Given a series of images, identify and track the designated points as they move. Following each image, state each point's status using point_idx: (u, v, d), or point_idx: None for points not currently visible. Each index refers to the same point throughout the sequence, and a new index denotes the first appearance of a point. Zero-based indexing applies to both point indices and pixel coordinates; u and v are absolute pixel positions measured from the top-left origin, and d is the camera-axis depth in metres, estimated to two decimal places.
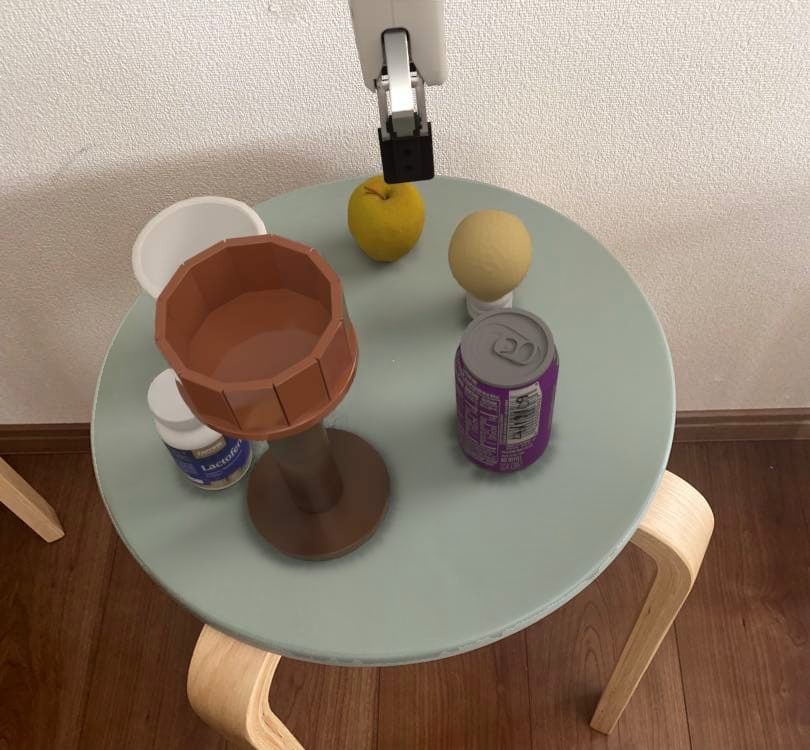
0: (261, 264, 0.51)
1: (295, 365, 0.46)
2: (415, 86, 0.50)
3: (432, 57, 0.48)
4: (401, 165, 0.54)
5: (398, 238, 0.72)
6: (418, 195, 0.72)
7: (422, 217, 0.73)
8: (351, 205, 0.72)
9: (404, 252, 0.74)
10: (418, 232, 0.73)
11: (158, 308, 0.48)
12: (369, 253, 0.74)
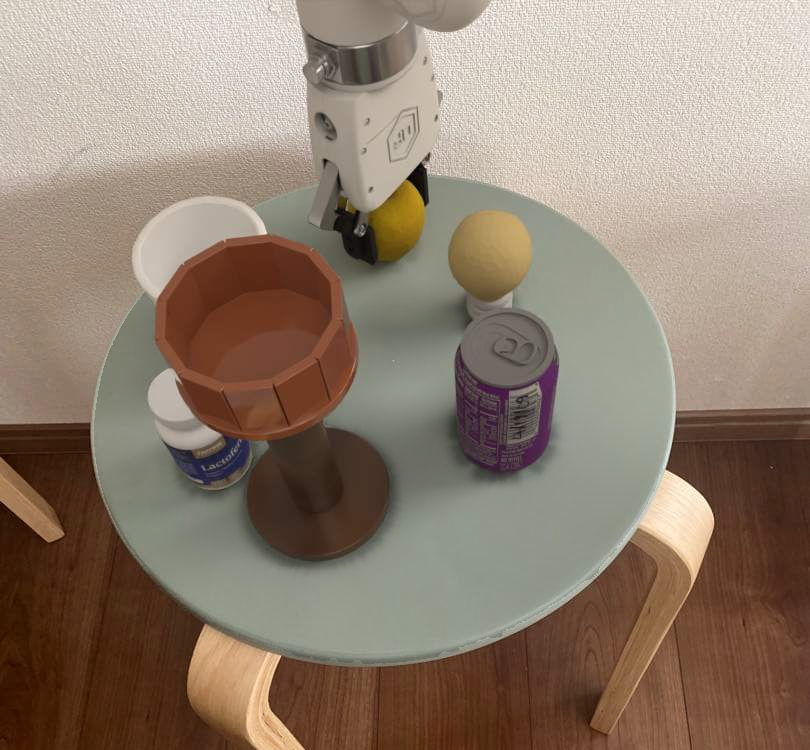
0: (261, 264, 0.51)
1: (295, 365, 0.46)
2: None
3: (354, 192, 0.64)
4: (346, 244, 0.72)
5: (397, 238, 0.72)
6: (418, 195, 0.72)
7: (422, 217, 0.73)
8: (351, 205, 0.72)
9: (404, 252, 0.74)
10: (418, 232, 0.73)
11: (158, 308, 0.48)
12: None
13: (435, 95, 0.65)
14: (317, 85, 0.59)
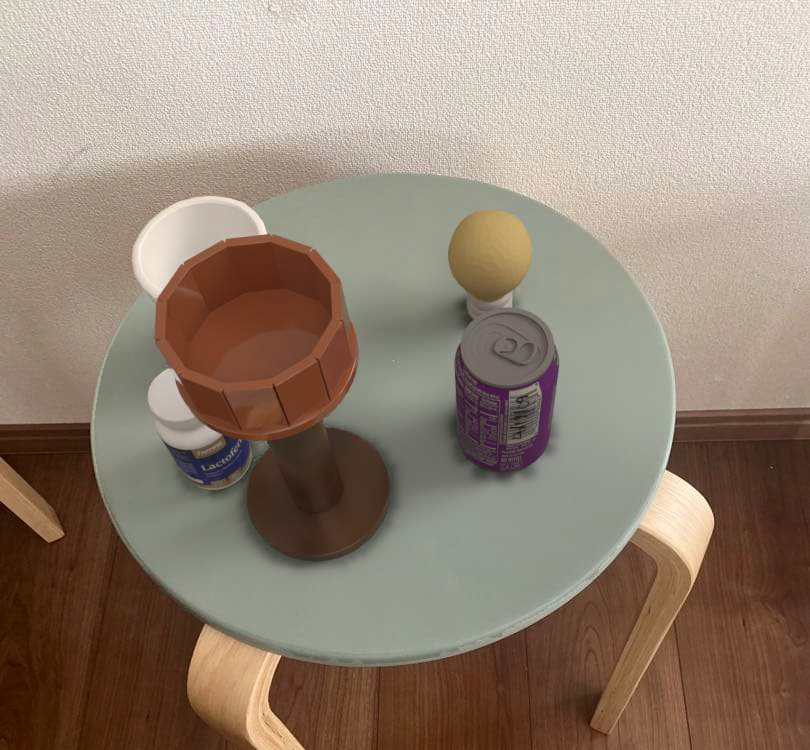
0: (261, 264, 0.51)
1: (295, 365, 0.46)
2: None
3: None
4: None
5: None
6: None
7: None
8: None
9: None
10: None
11: (158, 308, 0.48)
12: None
13: None
14: None
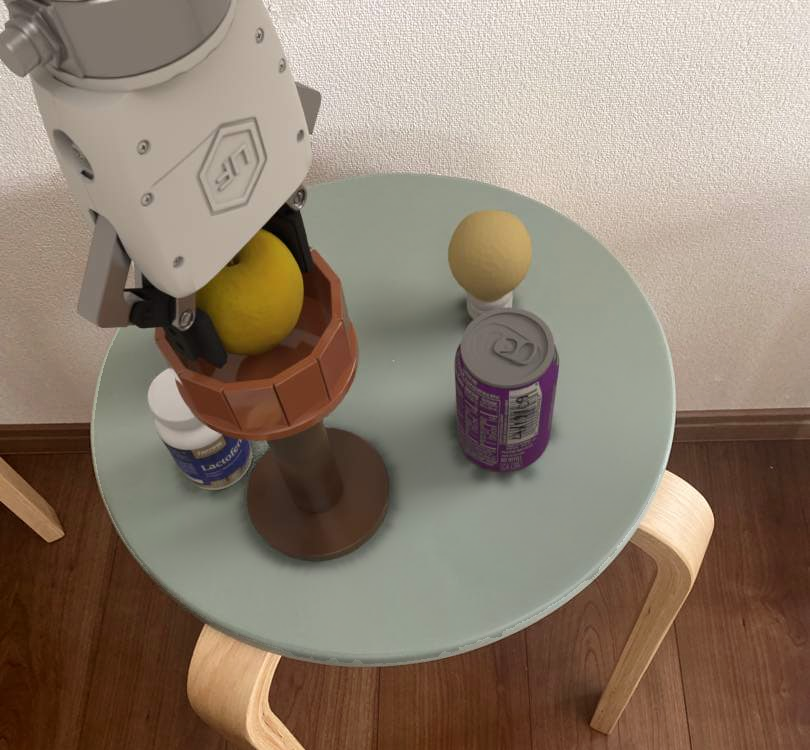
0: None
1: (295, 365, 0.46)
2: None
3: (149, 266, 0.37)
4: (172, 338, 0.44)
5: (254, 328, 0.45)
6: (286, 258, 0.44)
7: (295, 292, 0.45)
8: None
9: (271, 345, 0.47)
10: (290, 315, 0.46)
11: None
12: None
13: (293, 97, 0.38)
14: (43, 79, 0.31)
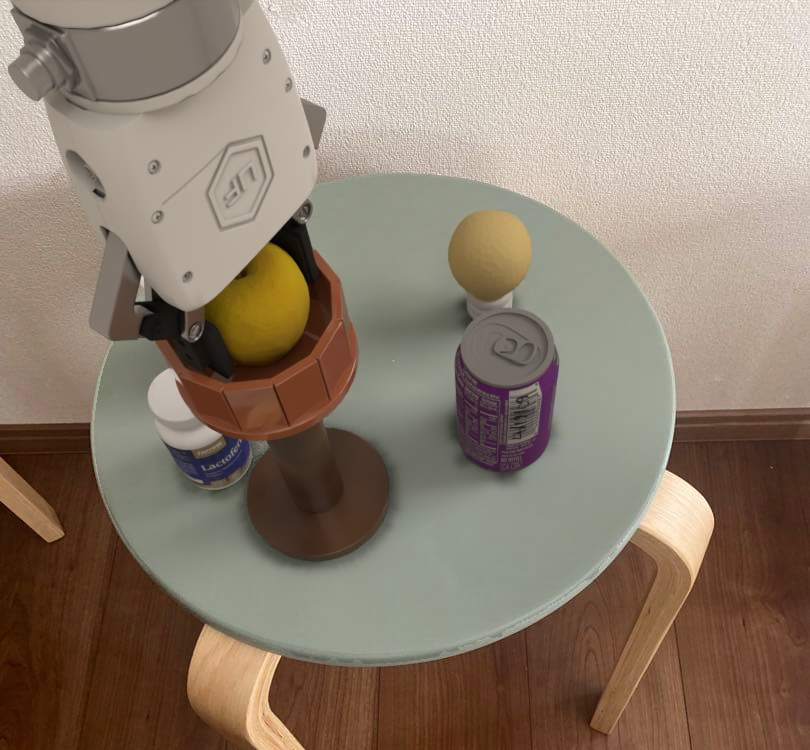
0: None
1: (295, 365, 0.46)
2: None
3: (159, 281, 0.38)
4: (181, 349, 0.45)
5: (261, 339, 0.45)
6: (293, 270, 0.45)
7: (301, 304, 0.46)
8: None
9: (277, 356, 0.48)
10: (296, 326, 0.46)
11: None
12: None
13: (299, 115, 0.39)
14: (56, 102, 0.32)
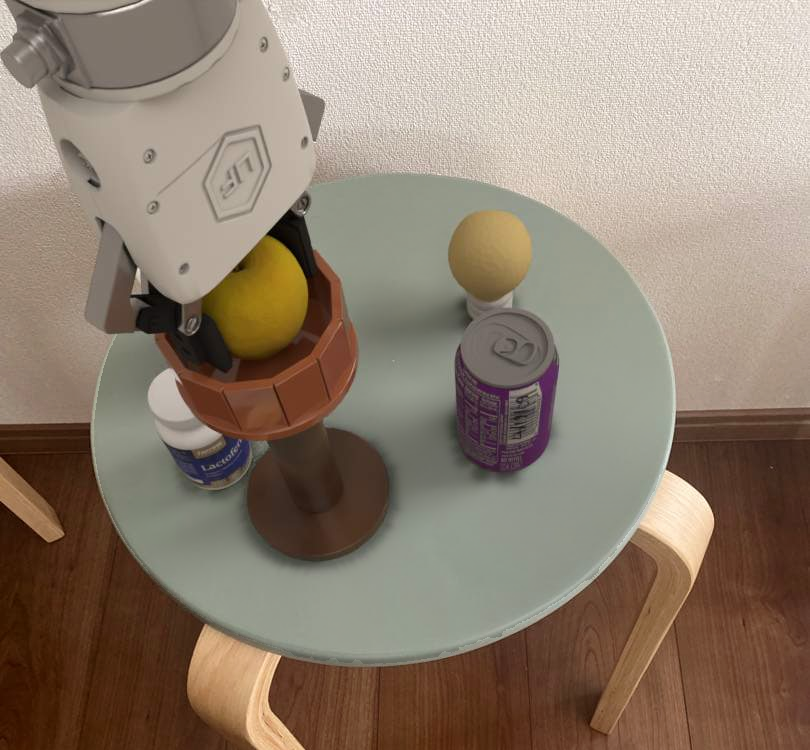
0: None
1: (295, 365, 0.46)
2: None
3: (155, 273, 0.37)
4: (178, 343, 0.45)
5: (259, 333, 0.45)
6: (291, 263, 0.45)
7: (300, 297, 0.46)
8: None
9: (276, 350, 0.47)
10: (295, 320, 0.46)
11: None
12: None
13: (297, 105, 0.38)
14: (50, 90, 0.32)
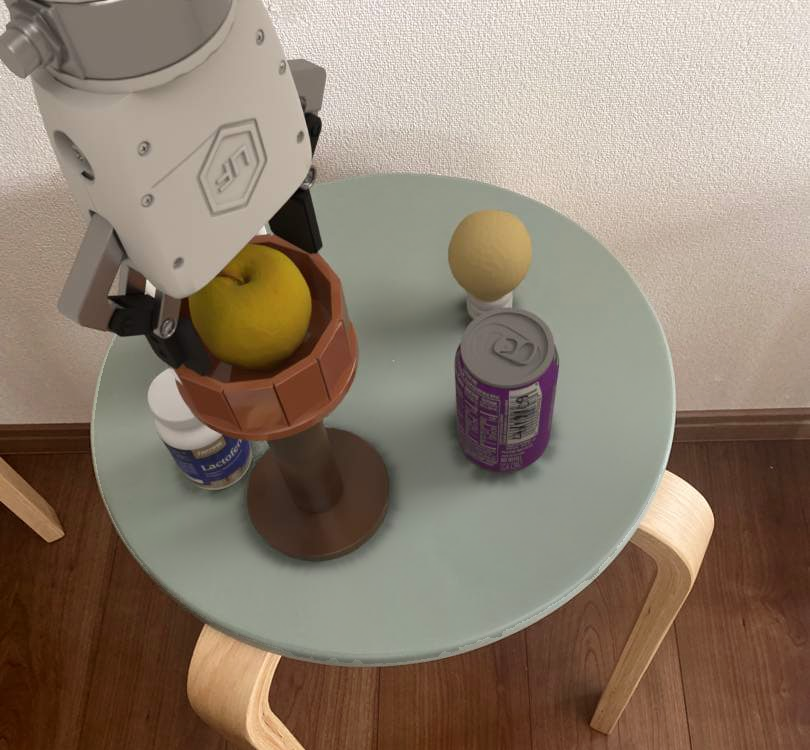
0: None
1: (295, 365, 0.46)
2: None
3: (149, 267, 0.37)
4: (154, 346, 0.44)
5: (265, 344, 0.46)
6: (295, 275, 0.46)
7: (304, 308, 0.47)
8: None
9: (281, 360, 0.48)
10: (300, 330, 0.47)
11: None
12: (227, 363, 0.48)
13: (293, 98, 0.38)
14: (44, 80, 0.31)
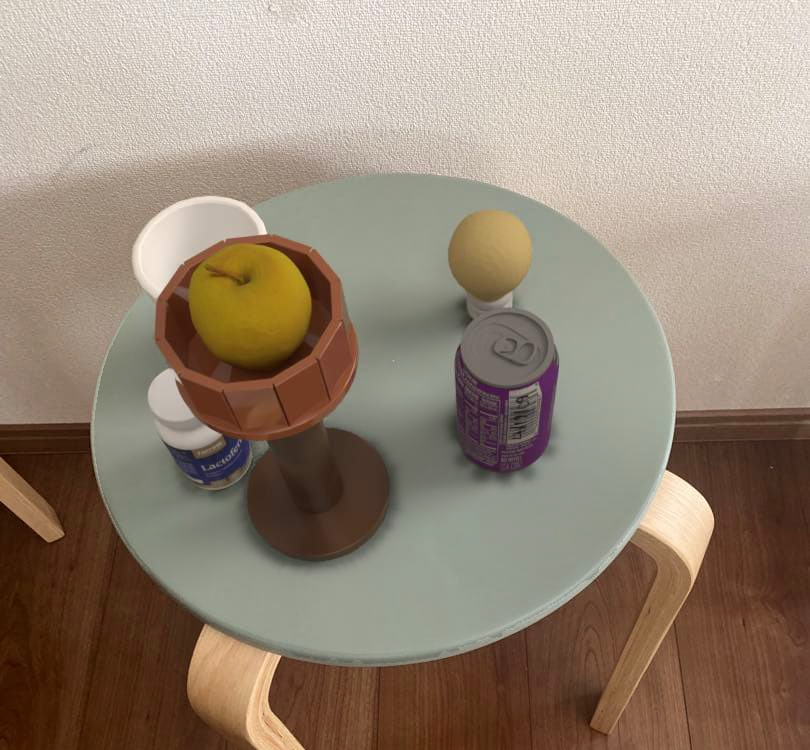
0: None
1: (295, 365, 0.46)
2: None
3: None
4: None
5: (265, 344, 0.46)
6: (295, 275, 0.46)
7: (304, 308, 0.47)
8: (190, 294, 0.46)
9: (281, 360, 0.48)
10: (300, 330, 0.47)
11: (158, 308, 0.48)
12: (227, 363, 0.48)
13: None
14: None
